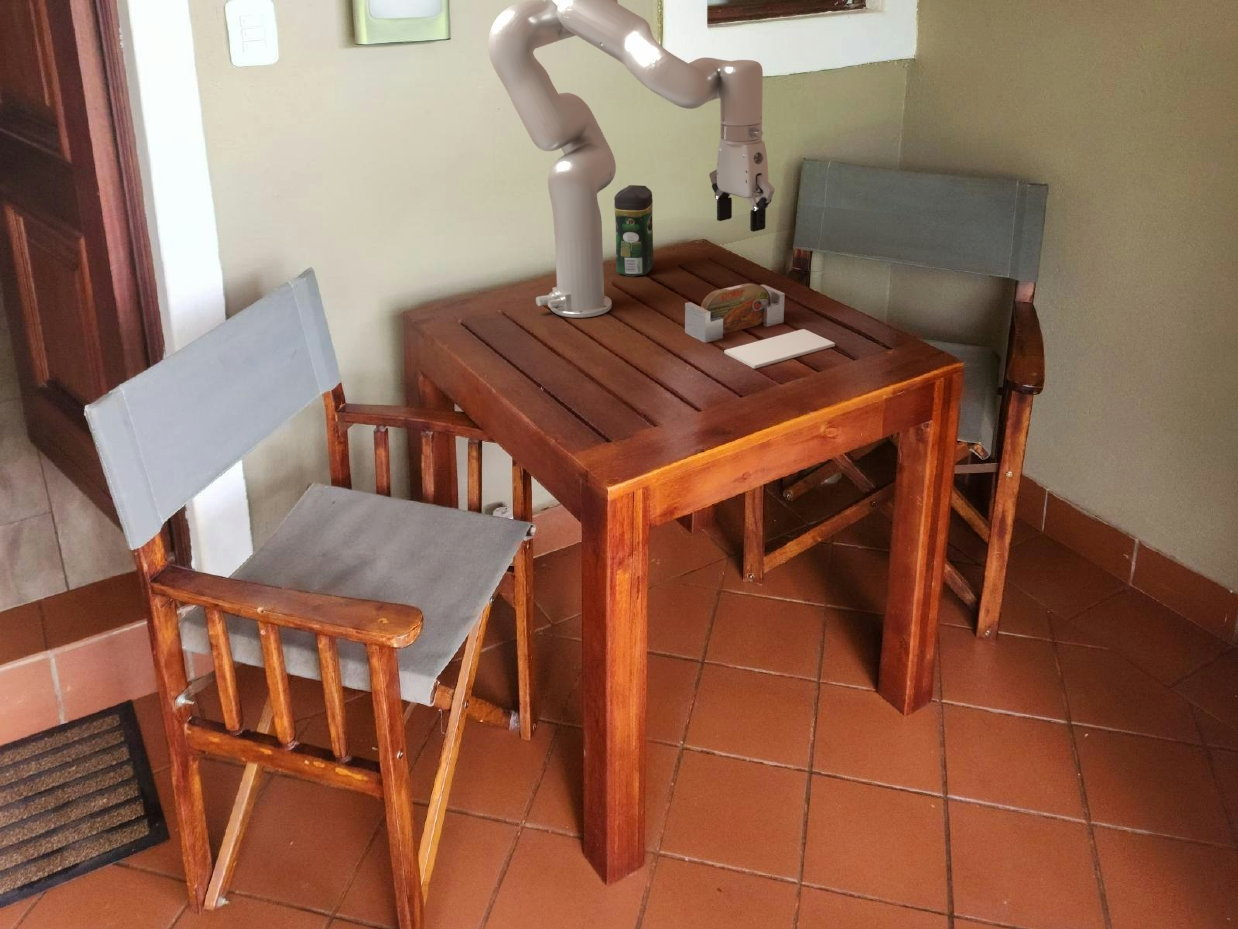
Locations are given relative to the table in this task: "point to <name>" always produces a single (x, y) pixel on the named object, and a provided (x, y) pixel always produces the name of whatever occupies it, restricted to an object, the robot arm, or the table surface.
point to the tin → (738, 306)
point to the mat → (779, 348)
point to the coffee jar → (634, 230)
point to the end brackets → (712, 329)
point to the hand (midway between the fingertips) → (740, 224)
